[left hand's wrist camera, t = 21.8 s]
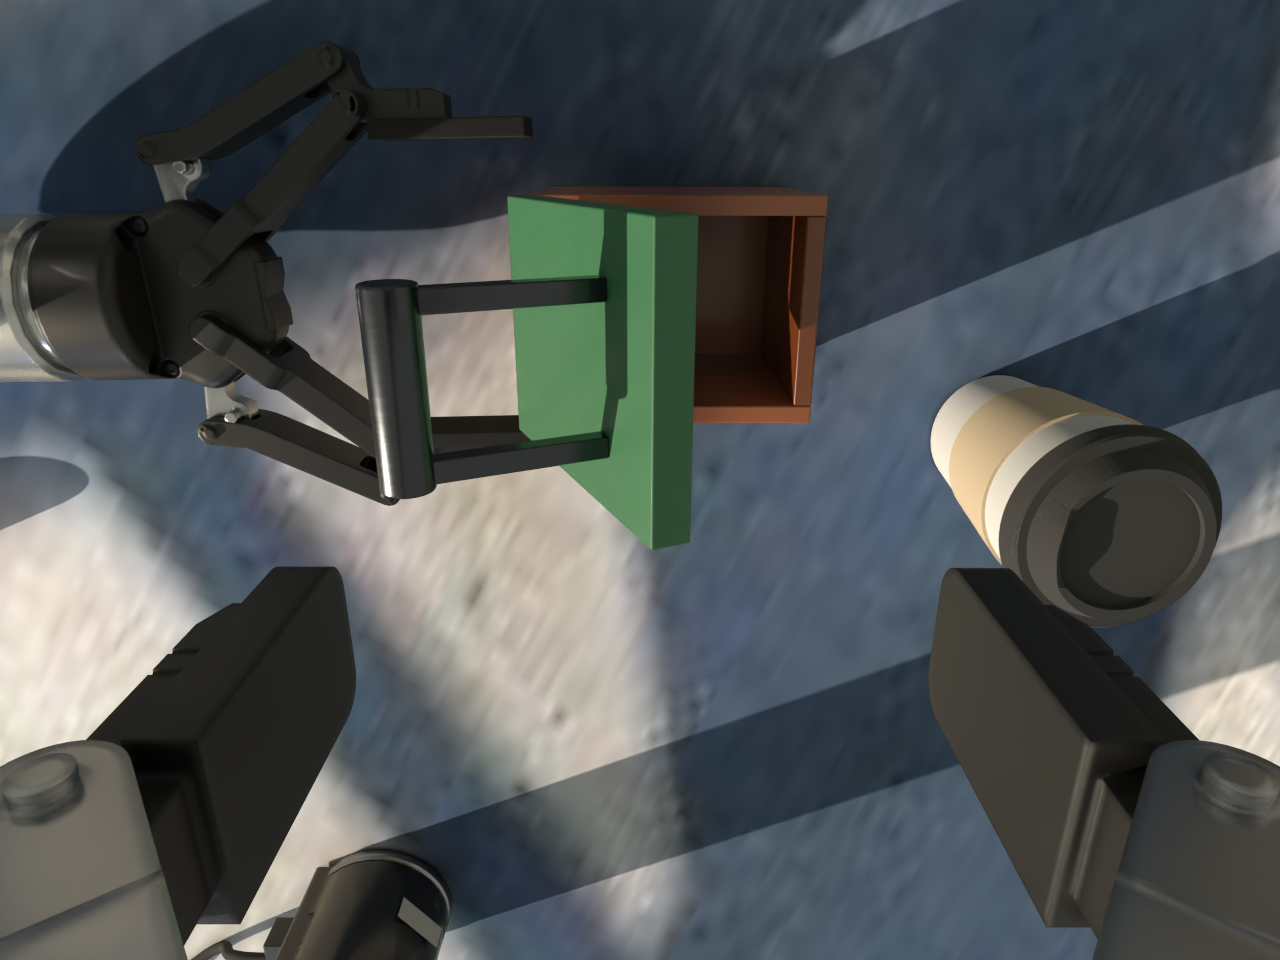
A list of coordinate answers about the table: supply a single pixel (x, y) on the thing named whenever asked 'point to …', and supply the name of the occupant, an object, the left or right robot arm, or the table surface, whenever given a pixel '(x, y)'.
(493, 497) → the table surface
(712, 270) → the chest
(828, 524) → the table surface
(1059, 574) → the coffee cup
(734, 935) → the table surface
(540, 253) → the lid
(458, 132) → the right robot arm
